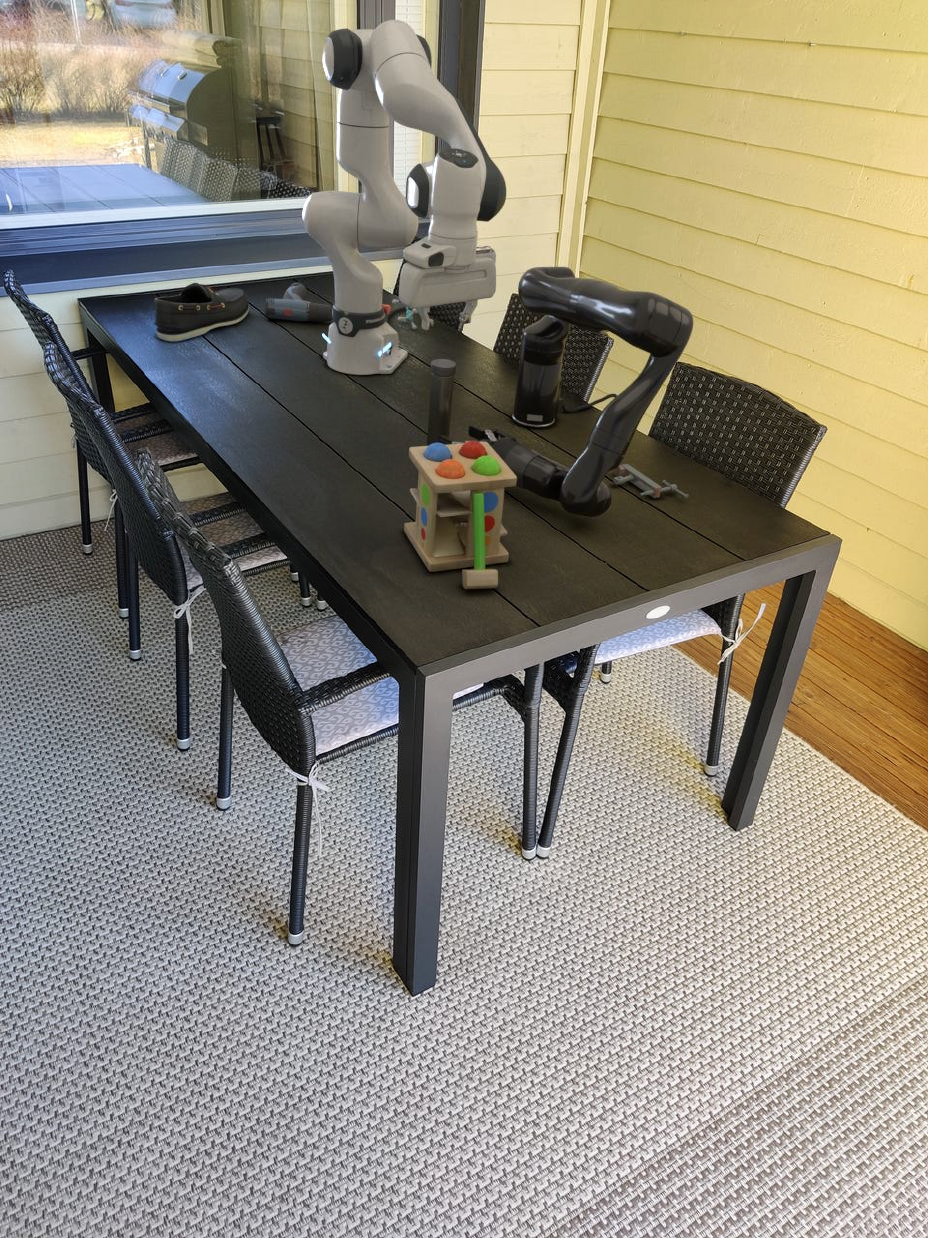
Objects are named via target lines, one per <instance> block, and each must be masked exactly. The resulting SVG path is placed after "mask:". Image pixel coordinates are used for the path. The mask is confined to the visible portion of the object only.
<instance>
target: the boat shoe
mask: <svg viewBox="0 0 928 1238" xmlns="http://www.w3.org/2000/svg"><path fill="white" fill-rule="evenodd" d="M154 305H155V315H154V317H155V321H154V322H153V323H154V325H155V326H156V337H157V338H158V339H160V340H162V341H166V342H180V341H181V342H182V341H186V340H189V339H192V338H196V337H199V336H201V335H204V334H206V333H208V332H209V331H210V330H212V329H215V328H219V327H224V326H226V327H227V326H230V325H234V324H238V323H239V322H241V321H243V320H244V319H245V318H246V317H247V315H248V314H249V311H250V304H249V300H248V297H247V295H246V293H245V291H244V290H243V289H241V288H238V287H230V288H224V289H220V290H217V291H215V290H214V289H213V288H212V287H211V286H209V285H207V284H203V283H198V282H191V283H190V284H188V285H186V286H185V287H184V288H183V289H182V290H181V291H180V292H179V294H177V295H171V296H159V297H155V298H154Z"/></svg>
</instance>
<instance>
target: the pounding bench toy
mask: <svg viewBox="0 0 928 1238" xmlns="http://www.w3.org/2000/svg"><path fill="white" fill-rule="evenodd" d="M467 441H468V442H466V443H464V442H461V443H462V444H450V445H444V444H442V443H433V444H431V445H429V446H427V445H422V446H421V445H420V446H410V447H409V449H408V458H409V459H410V461H411V462H412V464H413V465H414V467H415V468H416V470H417V471H418V477H417V479H418V480H417V488H415V487H410V488H409V493H410V494H411V496H412V497H413V499H414V500H415V503H416V512H415V521H410V522H405V523H403V525H404V526H403V531H404V534H405V535H406V536H407V539H408V541H410V543H411V545H412V546H413V548H414V549H415V551H416V553H417V554H418V556H419V558H420V559H421V560H422V562H423V564H424V565H425V567H426V568H427V570H428V571H429V572H431V573H432V572H433V573H435V572H441V571H449V570H458V569H462V570H461V571H462V572H461V573H462V575H461V576H462V587H463V589H464V590H479V589H483V590H484V589H496V588H498V586H499V570H497V569H495V568H486V566H488V565H495V564H502V563H508V561H509V557H510V555H509V554H510V553H509V552H508V551H507V549H506V548H505V546H504V545H503V544H502V542H500V541H501V539H500V538H501V537H504V536H507V535H508V530H507V529H506V528H505V527H504V525H503V524H502V521H503V520H502V519H503V509H504V499H505V488H512V487H517V486H516V481H517V477H516V475H515V474H514V473H513V472H512V470H511V469H510V468H509V467H508V466H507V464H506V463H505V462H504V461H503V460H502V459H501V457H500V456H499V455H498V454H497V453H496V452H495V451H494V449H493V448H492V447H491V446H490V445H489V444H488V443H487V442H477V441H478V440H467ZM472 567H473V568H472ZM464 568H471V569H464Z"/></svg>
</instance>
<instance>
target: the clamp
mask: <svg viewBox="0 0 928 1238" xmlns="http://www.w3.org/2000/svg"><path fill="white" fill-rule="evenodd" d="M613 471H614V472H613V476H615V477H613V481H612V482H613V484H615V485H617V486H619V485H624V484H625V483H626V482H630V483H631V484H633V485H634V486H636V487H637V488H638V489H640V491H642V492H640V493H639V496H640V497H642V496H650V497H651V498H653V499H656V498H660V497H661V493H665V492H671V493H672V492H675V493H677V494H679V495H680V496H681V497H683V498H684V500H688V499H689V494H688V493H687V494H686V493H684V492H683V491H681V490H679V489H678V486H677V484H675V483H673V484H670V483H669V482H668V481H667V480H666V479H662V481H661V485H665V486H666V487H663V486H661V485H660V484H658V483H656V482H655V481H654V480H652V479H651V478H649V477H648V476H646V475H645V474H643V473H642V472H640V471H639V470H638V469H636V468H635V467H634V466H631V465H630V464H629V463H624V464H620V466H619V467H618V468H617V469H614V470H613Z"/></svg>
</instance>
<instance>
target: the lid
mask: <svg viewBox="0 0 928 1238" xmlns="http://www.w3.org/2000/svg"><path fill="white" fill-rule="evenodd" d="M456 369H457V363H456V362H455V361H454V360H452V359H446V358H437V359H436V358H435V359H433V360H431V362H430V373H431V374H434V375H437V376H443V377H447V376H453V375H454V376H455V374H456Z"/></svg>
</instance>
